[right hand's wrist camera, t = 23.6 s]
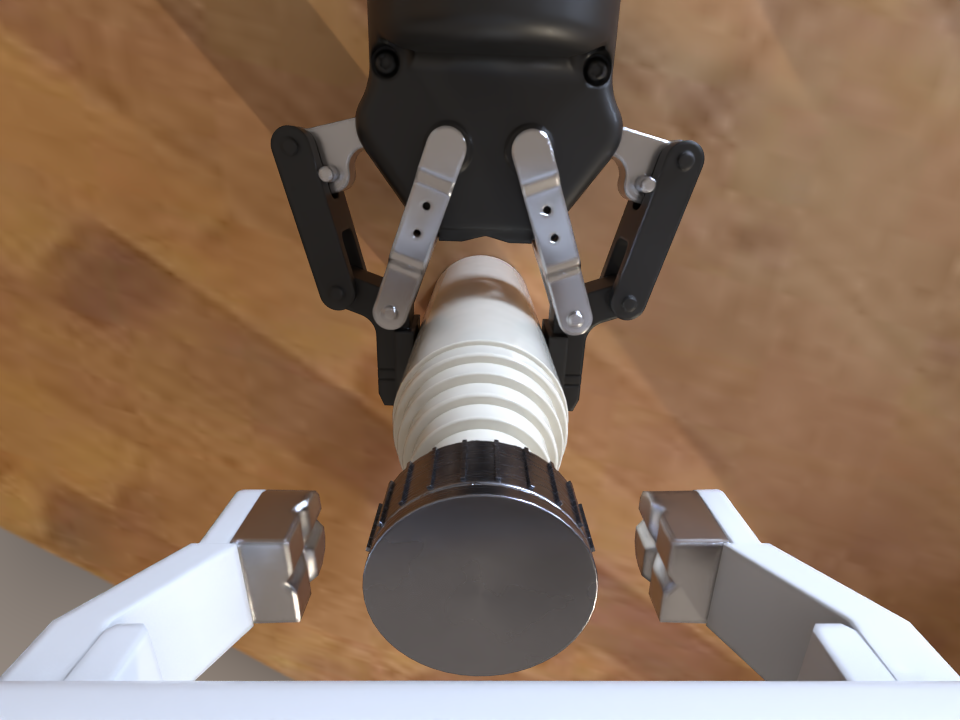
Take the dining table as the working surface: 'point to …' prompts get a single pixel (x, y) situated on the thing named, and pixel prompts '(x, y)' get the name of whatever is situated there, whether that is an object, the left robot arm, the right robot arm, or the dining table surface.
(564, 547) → the cap
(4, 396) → the dining table surface
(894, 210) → the dining table surface
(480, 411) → the bottle
